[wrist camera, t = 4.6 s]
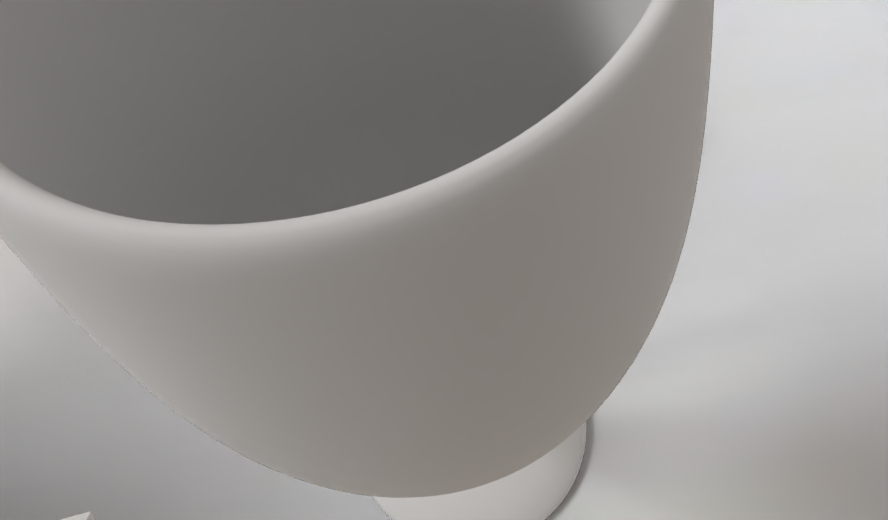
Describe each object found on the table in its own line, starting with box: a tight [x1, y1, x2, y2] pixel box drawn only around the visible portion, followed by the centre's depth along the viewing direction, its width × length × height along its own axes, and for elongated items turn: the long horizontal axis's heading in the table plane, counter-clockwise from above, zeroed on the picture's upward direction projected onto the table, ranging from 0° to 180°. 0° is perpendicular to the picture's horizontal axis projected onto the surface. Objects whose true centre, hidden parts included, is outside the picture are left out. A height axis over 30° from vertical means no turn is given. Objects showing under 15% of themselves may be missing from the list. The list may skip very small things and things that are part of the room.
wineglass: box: [0, 0, 714, 520], centre depth 15 cm, size 9×9×21 cm
